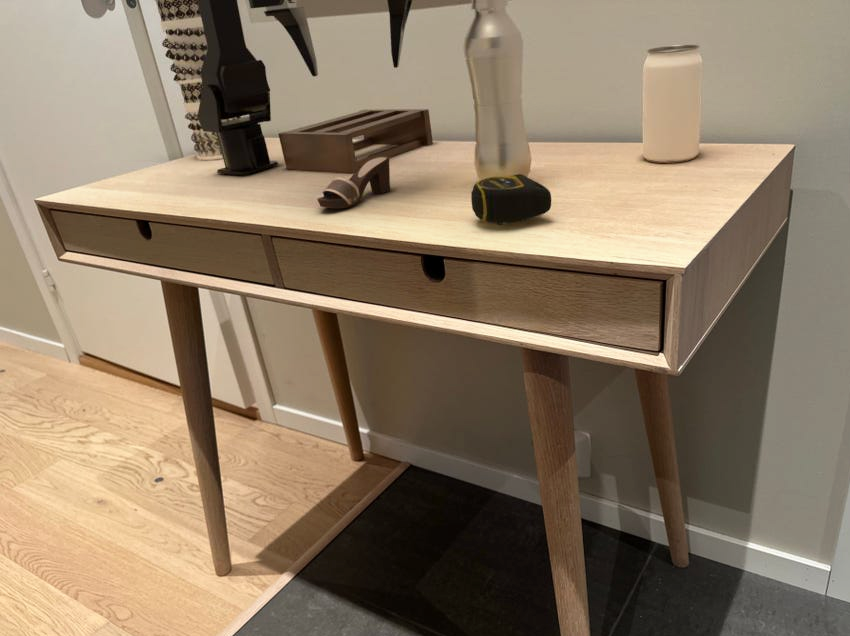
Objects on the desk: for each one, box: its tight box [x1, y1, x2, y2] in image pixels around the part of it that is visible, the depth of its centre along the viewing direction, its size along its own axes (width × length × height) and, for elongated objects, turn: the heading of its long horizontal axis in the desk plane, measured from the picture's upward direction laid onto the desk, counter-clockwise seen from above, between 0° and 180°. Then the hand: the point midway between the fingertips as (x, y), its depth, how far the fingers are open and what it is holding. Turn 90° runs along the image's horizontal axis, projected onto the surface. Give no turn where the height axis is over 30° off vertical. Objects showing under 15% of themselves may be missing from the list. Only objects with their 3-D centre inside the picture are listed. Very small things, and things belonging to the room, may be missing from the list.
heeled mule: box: [317, 156, 391, 209], centre depth 80 cm, size 4×11×4 cm, turn 141°
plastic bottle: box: [462, 0, 532, 181], centre depth 76 cm, size 6×7×20 cm
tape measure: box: [470, 174, 552, 226], centre depth 67 cm, size 7×7×4 cm
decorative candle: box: [154, 0, 242, 161], centre depth 112 cm, size 9×9×25 cm
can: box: [642, 44, 703, 164], centre depth 81 cm, size 6×6×12 cm
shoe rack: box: [278, 108, 434, 174], centre depth 103 cm, size 13×18×5 cm
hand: (355, 71), depth 78 cm, fingers open, 9 cm apart
